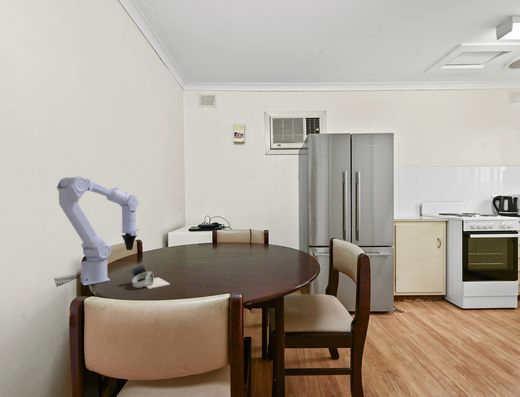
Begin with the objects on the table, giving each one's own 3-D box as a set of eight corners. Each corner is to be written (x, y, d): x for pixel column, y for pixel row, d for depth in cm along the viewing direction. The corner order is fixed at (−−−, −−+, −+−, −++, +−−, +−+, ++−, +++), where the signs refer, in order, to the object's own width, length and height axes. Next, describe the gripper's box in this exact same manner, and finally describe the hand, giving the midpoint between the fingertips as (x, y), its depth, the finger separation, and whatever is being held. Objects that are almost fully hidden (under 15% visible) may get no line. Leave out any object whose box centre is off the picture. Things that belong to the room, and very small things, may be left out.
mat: (149, 289, 104) (149, 287, 104) (139, 282, 113) (139, 281, 113) (169, 284, 109) (169, 283, 109) (158, 278, 118) (158, 277, 118)
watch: (150, 276, 116) (157, 285, 107) (130, 283, 112) (136, 294, 103) (147, 263, 115) (154, 272, 106) (126, 271, 111) (132, 280, 102)
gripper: (142, 220, 126) (143, 250, 126) (133, 219, 137) (133, 246, 137) (126, 221, 121) (126, 252, 121) (117, 220, 132) (118, 248, 132)
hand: (129, 249), depth 129 cm, fingers closed
